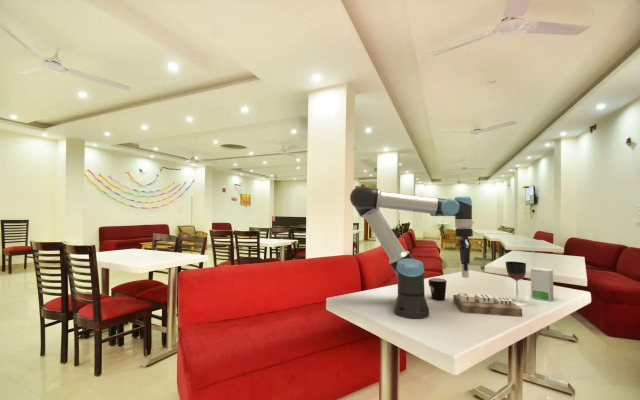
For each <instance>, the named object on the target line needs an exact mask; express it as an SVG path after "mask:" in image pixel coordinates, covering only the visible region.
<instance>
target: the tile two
mask: <svg viewBox="0 0 640 400" xmlns="http://www.w3.org/2000/svg"><path fill="white" fill-rule="evenodd" d="M475 296H476V300H477V301H478V302H479V303H494V298H493V297H494V296H492V295H491V294H483V293H475Z"/></svg>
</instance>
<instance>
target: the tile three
mask: <svg viewBox="0 0 640 400" xmlns="http://www.w3.org/2000/svg"><path fill="white" fill-rule="evenodd" d="M493 297H494V301H495V302H496V303H497V304H504V305H514V302H513V301H514V300H513V299H511V298H509V297H506V296H505V297H502V296H493Z"/></svg>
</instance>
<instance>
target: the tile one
mask: <svg viewBox="0 0 640 400" xmlns="http://www.w3.org/2000/svg"><path fill="white" fill-rule="evenodd" d="M457 295H458V299H459V300H460V301H463V302H475V297H474V296H475V295H473V294H472V293H467V292H466V293H462V292H457Z"/></svg>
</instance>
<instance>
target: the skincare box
mask: <svg viewBox="0 0 640 400" xmlns="http://www.w3.org/2000/svg"><path fill="white" fill-rule="evenodd" d="M530 287H531V288H530V291H531V293H530V294H531V295H530V296H531V298H532V299H536V300H541V301H546V302H549V301H550V302H552V301H554V270H553V269H549V268H541V267H531V268H530Z"/></svg>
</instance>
